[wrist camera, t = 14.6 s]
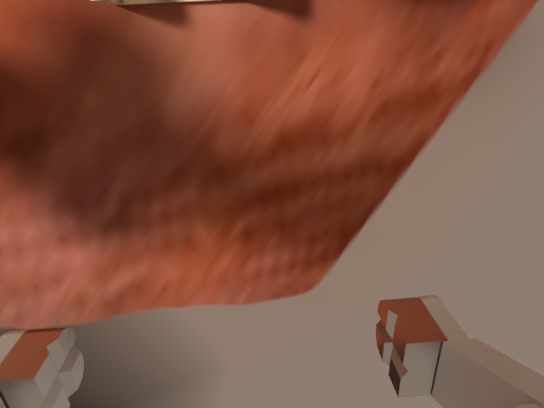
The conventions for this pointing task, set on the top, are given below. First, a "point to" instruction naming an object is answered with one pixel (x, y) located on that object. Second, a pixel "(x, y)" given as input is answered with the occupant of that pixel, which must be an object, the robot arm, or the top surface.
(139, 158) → the top surface
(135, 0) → the tray
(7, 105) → the top surface
